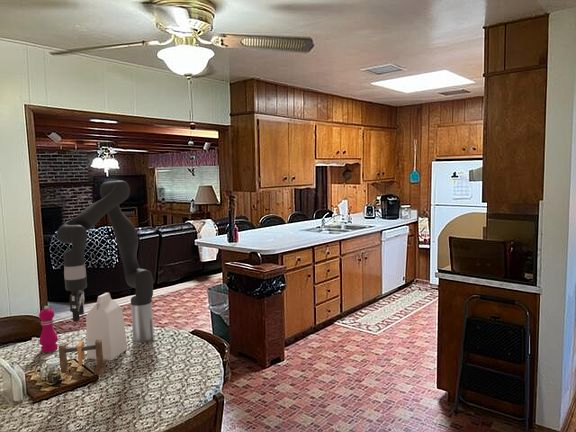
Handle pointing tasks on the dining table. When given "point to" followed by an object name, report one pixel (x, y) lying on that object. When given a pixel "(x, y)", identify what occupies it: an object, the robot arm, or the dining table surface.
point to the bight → (80, 352)
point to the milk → (106, 328)
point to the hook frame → (97, 346)
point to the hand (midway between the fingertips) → (78, 317)
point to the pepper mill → (47, 331)
